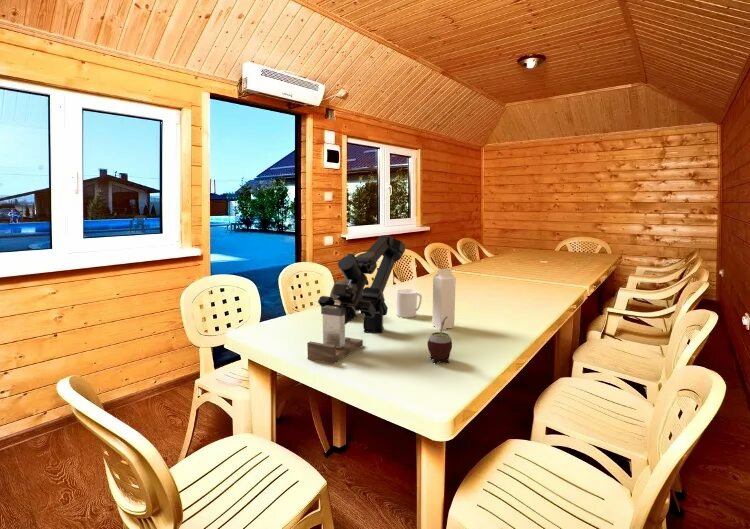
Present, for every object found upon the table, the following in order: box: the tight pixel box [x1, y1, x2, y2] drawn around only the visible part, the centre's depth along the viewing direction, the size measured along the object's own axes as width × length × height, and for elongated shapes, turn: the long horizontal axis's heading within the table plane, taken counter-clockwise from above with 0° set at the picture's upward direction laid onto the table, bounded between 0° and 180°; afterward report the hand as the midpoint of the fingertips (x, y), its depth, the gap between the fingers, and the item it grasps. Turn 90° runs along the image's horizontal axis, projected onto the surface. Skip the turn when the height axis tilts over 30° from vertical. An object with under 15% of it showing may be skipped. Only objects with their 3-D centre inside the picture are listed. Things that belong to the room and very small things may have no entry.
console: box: [307, 336, 364, 365], centre depth 135 cm, size 18×9×5 cm, turn 153°
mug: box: [395, 288, 423, 319], centre depth 178 cm, size 11×9×10 cm
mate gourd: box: [427, 317, 453, 364], centre depth 127 cm, size 8×8×15 cm
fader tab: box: [320, 305, 346, 348], centre depth 133 cm, size 3×7×12 cm, turn 63°
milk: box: [431, 268, 457, 330], centre depth 161 cm, size 6×6×22 cm
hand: (336, 329), depth 135 cm, fingers closed, pressing on fader tab
